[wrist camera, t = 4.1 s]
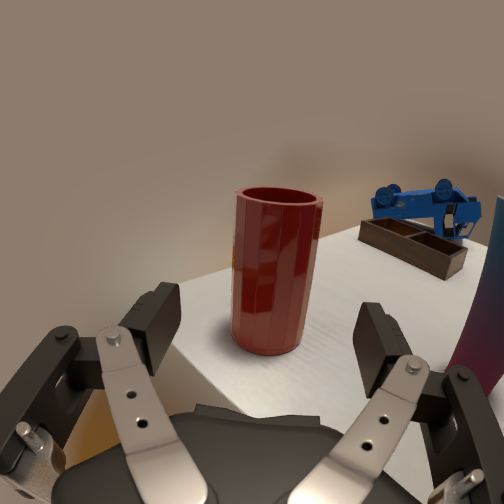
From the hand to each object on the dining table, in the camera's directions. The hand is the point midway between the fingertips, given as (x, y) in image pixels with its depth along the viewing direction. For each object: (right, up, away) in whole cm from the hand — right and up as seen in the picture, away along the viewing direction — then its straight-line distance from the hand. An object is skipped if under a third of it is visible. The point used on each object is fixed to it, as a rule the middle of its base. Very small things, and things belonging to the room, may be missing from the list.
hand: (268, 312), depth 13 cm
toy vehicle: (+38, +18, +44) cm, 60 cm away
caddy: (+26, +2, +33) cm, 42 cm away
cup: (+18, -9, +6) cm, 20 cm away
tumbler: (+1, -4, +13) cm, 14 cm away
